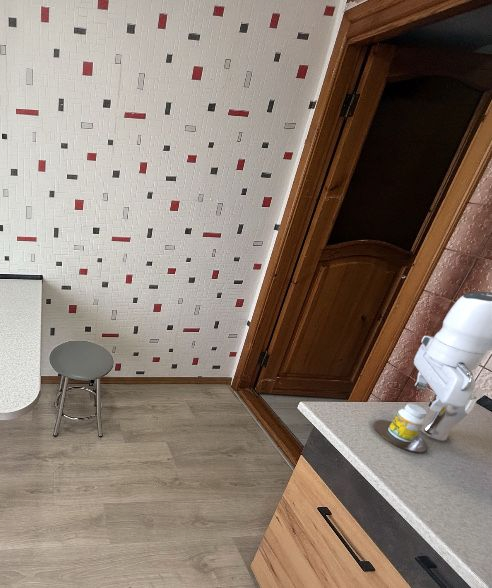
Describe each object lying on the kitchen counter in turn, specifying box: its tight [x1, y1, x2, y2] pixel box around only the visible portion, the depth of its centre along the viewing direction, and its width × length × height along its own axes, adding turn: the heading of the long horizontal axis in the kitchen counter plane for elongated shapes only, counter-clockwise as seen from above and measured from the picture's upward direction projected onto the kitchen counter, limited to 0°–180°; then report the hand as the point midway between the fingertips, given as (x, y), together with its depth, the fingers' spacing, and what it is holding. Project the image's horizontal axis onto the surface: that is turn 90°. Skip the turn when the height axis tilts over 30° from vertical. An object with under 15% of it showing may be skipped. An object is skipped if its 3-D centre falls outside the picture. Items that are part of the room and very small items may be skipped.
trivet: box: [373, 419, 427, 454], centre depth 92 cm, size 11×11×1 cm
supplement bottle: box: [388, 403, 428, 442], centre depth 90 cm, size 5×5×10 cm
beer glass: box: [419, 392, 479, 442], centre depth 92 cm, size 7×7×15 cm
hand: (425, 398), depth 86 cm, fingers open, 8 cm apart
